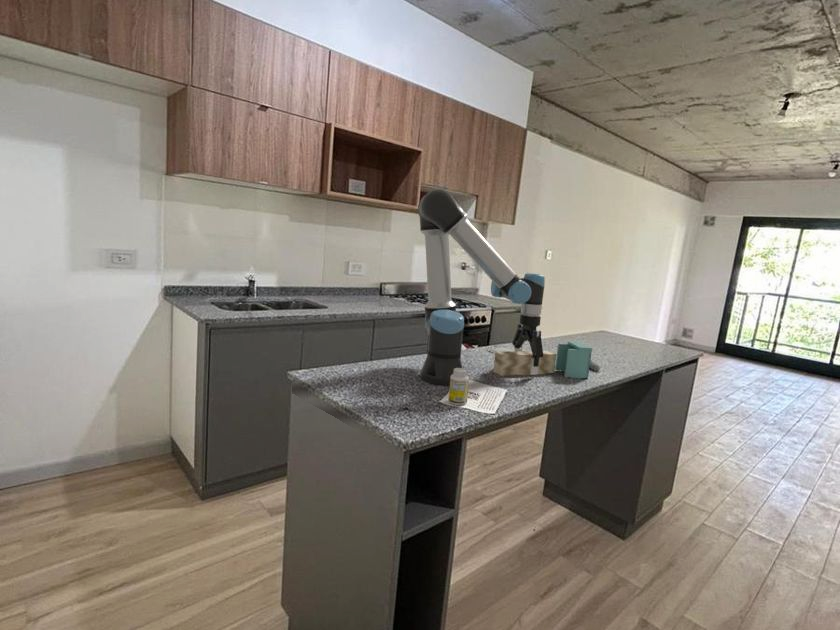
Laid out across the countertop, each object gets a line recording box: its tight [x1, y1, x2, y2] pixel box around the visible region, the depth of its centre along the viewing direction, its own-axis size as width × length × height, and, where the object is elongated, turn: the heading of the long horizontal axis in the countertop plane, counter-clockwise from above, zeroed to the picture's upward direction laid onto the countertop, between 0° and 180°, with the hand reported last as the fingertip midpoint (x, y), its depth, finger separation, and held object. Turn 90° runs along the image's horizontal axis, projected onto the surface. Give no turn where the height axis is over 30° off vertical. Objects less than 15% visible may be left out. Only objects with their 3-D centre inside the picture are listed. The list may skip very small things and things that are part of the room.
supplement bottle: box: [448, 368, 470, 406], centre depth 135 cm, size 6×6×10 cm
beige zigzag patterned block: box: [493, 350, 557, 376], centre depth 173 cm, size 24×5×8 cm, turn 110°
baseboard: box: [486, 345, 556, 364], centre depth 195 cm, size 31×3×12 cm
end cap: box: [554, 341, 593, 379], centre depth 175 cm, size 9×10×12 cm
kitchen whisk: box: [566, 341, 601, 373], centre depth 198 cm, size 6×34×6 cm, turn 4°
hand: (524, 369), depth 174 cm, fingers open, 13 cm apart
